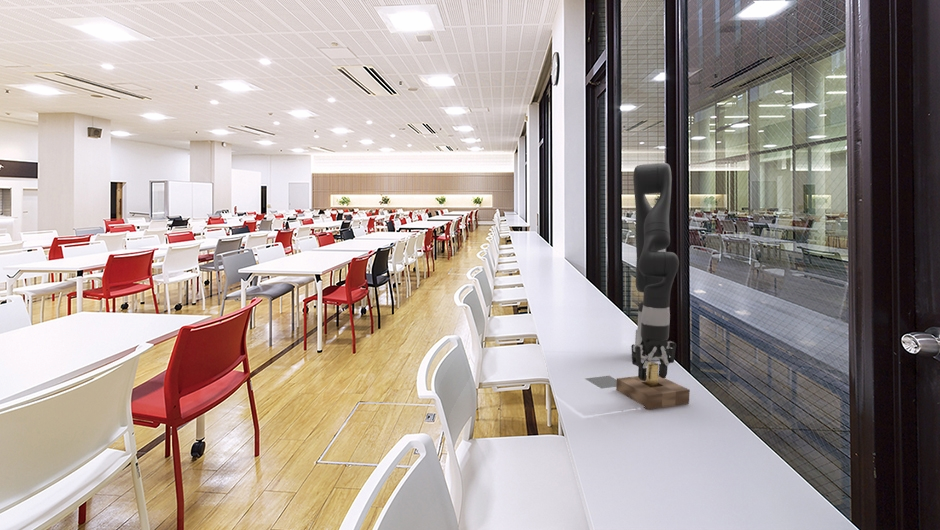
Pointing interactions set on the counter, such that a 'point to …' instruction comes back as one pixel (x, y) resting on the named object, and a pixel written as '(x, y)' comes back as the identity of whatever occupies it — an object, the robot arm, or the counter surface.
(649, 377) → the brass pin
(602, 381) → the rubber mat
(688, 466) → the counter surface
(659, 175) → the robot arm
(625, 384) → the walnut block
